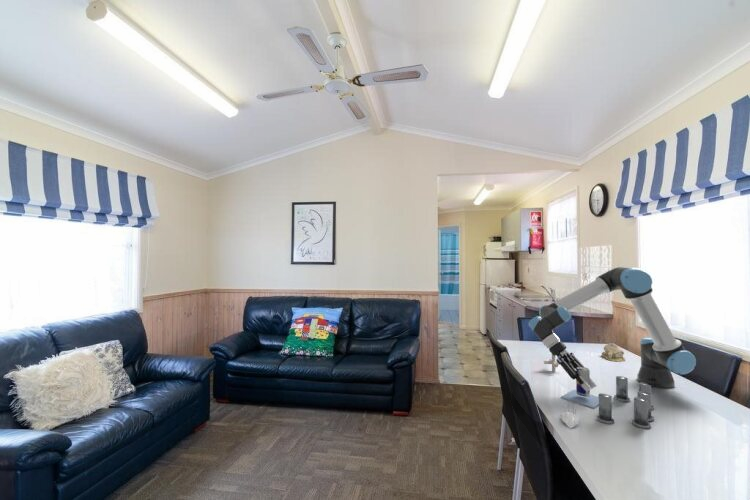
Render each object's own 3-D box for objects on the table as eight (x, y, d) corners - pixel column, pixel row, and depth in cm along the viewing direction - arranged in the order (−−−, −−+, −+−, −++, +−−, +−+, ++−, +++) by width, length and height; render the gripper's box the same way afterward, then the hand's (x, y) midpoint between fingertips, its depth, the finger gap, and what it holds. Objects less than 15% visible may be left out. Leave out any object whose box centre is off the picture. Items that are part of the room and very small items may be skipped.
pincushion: (560, 414, 144) (559, 400, 144) (576, 417, 141) (576, 403, 141) (561, 427, 133) (561, 412, 133) (580, 430, 130) (579, 415, 130)
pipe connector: (566, 375, 189) (566, 357, 189) (546, 374, 191) (546, 356, 191) (560, 369, 198) (560, 352, 199) (541, 368, 200) (541, 351, 201)
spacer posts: (585, 417, 140) (585, 392, 140) (616, 395, 161) (616, 374, 162) (642, 436, 125) (642, 409, 125) (668, 410, 146) (668, 386, 146)
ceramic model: (630, 361, 212) (629, 345, 212) (613, 362, 211) (613, 346, 211) (611, 355, 226) (611, 340, 226) (596, 355, 225) (596, 340, 225)
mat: (560, 398, 159) (560, 396, 159) (573, 390, 167) (573, 389, 167) (594, 408, 148) (594, 407, 148) (606, 400, 156) (606, 399, 156)
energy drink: (573, 392, 160) (573, 366, 160) (584, 391, 160) (584, 366, 161) (581, 397, 155) (581, 370, 155) (592, 396, 155) (592, 370, 155)
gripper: (557, 346, 176) (593, 387, 162) (540, 352, 164) (576, 397, 151) (568, 337, 171) (606, 380, 158) (551, 343, 160) (590, 389, 147)
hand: (591, 388), depth 155 cm, fingers closed on energy drink, 5 cm apart
